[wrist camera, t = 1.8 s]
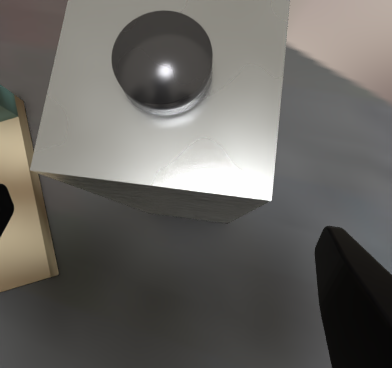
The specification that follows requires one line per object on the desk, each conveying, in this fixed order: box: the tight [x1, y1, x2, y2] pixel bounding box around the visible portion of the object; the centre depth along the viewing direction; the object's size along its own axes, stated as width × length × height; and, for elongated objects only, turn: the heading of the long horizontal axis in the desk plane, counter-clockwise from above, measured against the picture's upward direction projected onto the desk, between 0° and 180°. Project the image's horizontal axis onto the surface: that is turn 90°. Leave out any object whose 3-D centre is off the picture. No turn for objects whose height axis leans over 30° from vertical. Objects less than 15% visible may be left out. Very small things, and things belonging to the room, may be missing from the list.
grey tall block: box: [30, 0, 290, 224], centre depth 13 cm, size 5×5×14 cm
